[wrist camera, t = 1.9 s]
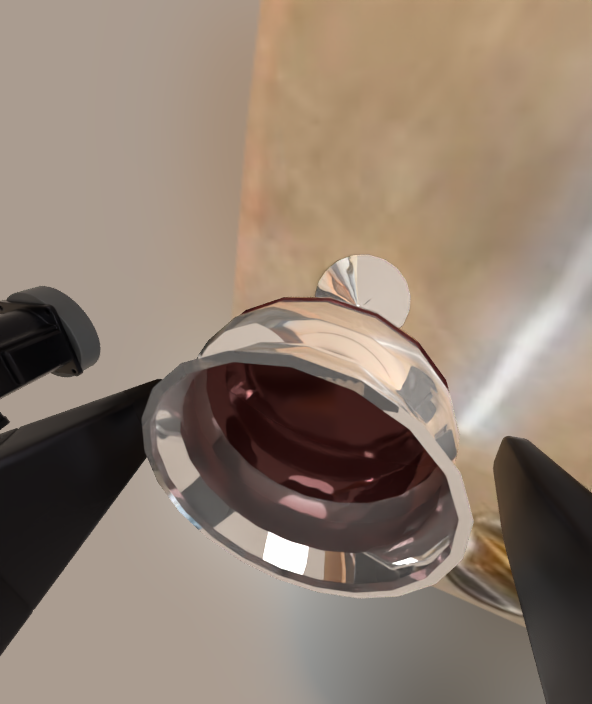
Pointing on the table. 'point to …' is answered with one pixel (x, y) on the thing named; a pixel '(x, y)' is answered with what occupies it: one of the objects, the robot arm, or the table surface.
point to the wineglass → (318, 440)
